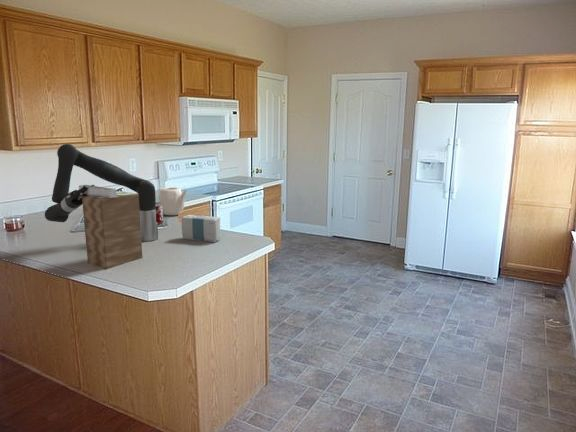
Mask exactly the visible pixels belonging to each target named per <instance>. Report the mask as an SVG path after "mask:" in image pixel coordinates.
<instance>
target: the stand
mask: <svg viewBox="0 0 576 432" xmlns="http://www.w3.org/2000/svg"><path fill="white" fill-rule="evenodd" d="M116 196H117V197H112V198H107V197H101V196H95V195H87V196H85V197H82V202H83V204H82V211H83V223H84V224H83V225H84V234H85V246H86V247H85V248H86V256H87V258H86V259H87V264H88V265H92V266H95V267H98V268H99V267H100V268H103V269H106V270H109V269H111V268H115V267H118V266H120V265H124V264H127V263H130V262H134V261H136V260H140V259H143V244H142V243H143V241H141V225H140V209H139V194H138V193H136V192H135V193H133V192H127V191H126V192H125V191H119V190H118V191H117V190H116Z"/></svg>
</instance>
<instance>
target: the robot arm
mask: <svg viewBox="0 0 576 432" xmlns="http://www.w3.org/2000/svg"><path fill="white" fill-rule="evenodd" d="M56 154H57V158H58V165H57V173H56V176H55V182H54V185H53V190H52V196H51V201H52V202H53V203H55V204H53V205H51V206H49V207H47V209H45V211H44V218H45V219H46V220H47V221H48V222H55V223H66V221H67V220H68V219H69V217H70V216H69V215H70V214H71V213H73V212H74V211H76V210H77V209H79V207H81V206H83V202H82V197H85V196H87V195H88V194H83V193H84V192H85V191H87V186H83V187H82V188H81V189H79V188H78V189H75V190H73V191H71V192H70V186H71V176H72V172H73V168H74V166H75V167H78V168H80V169H83V170H85V171H86V172H88V173H90V174H91V175H94V176H96V177H97V178H99V179H102V180H103V181H106V182H109V183H111V184H114V185H117V186H122V187H125V188H128V189H129V190H132V191H133V192H135V194H139V209H140V225H141V242H153V241H156V240H158V239H159V230H158V228H159V227H158V226H159V224H158V223H157V222H156V211H155V205H156V204H157V197H156V187H155V185H154V184H153V182H151V181H149V180H147V179H144V178H140V177H138V176H135V175H133V174H131V173H129V172H127V171H126V170H124V169H122V168H120V167H119V166H116V165H115V164H112V163H110V162H109V161H106V160H103V159H100V158H96V157H93V156H90V155H88V154H86V153H83V152H82V151H80V150H78V149H77V148H76V147H75V146H74V145H72V144H70V143H64V144H62V145H60V146H59V147H58V149H57V152H56ZM91 186H96V185H95V184H91Z"/></svg>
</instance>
